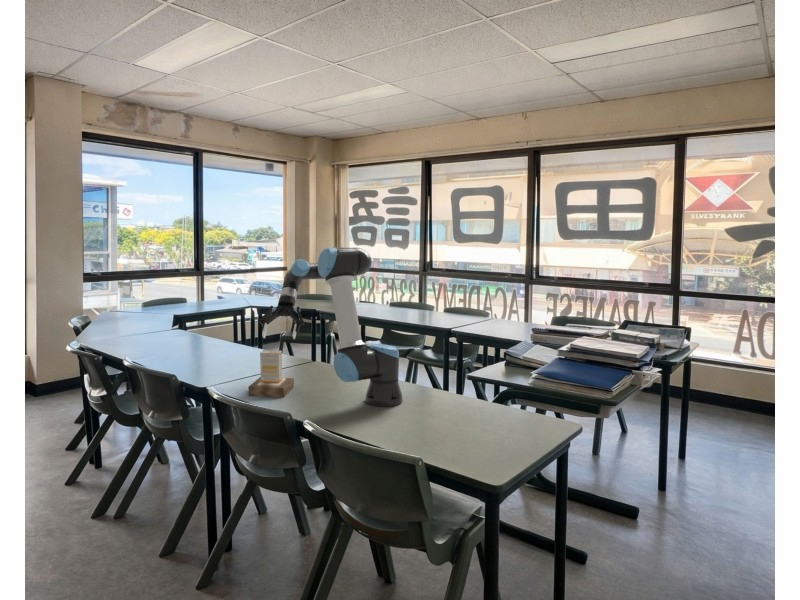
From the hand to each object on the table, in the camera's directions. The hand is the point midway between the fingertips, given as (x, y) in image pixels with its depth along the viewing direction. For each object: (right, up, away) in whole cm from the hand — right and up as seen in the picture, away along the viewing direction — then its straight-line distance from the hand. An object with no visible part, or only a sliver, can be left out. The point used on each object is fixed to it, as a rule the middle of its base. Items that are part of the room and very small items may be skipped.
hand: (278, 337), depth 237 cm
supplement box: (-1, -18, -8) cm, 20 cm away
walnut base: (-1, -23, -8) cm, 24 cm away
